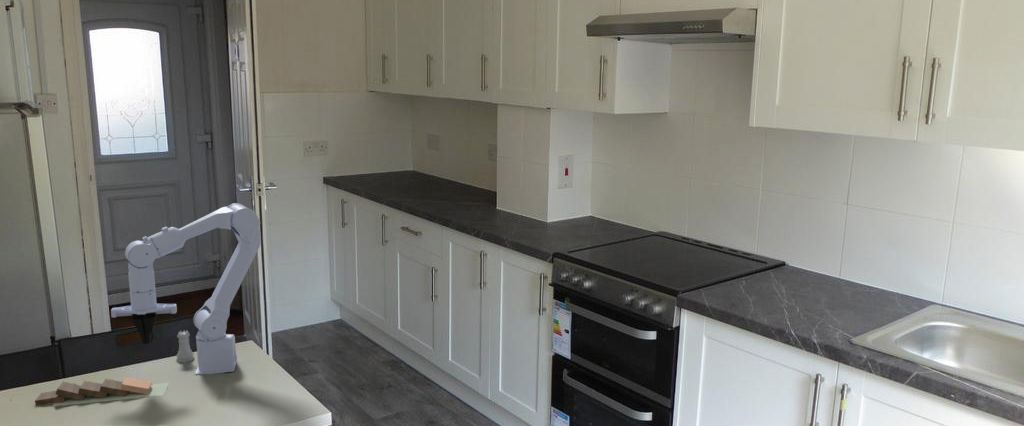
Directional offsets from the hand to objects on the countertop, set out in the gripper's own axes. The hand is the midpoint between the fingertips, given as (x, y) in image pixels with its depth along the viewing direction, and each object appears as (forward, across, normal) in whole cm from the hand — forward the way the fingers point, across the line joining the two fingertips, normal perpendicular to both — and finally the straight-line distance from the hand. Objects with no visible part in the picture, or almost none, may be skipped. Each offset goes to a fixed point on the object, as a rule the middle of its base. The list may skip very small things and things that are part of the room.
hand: (147, 342), depth 189 cm
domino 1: (+9, -17, -6) cm, 20 cm away
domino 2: (+10, -13, -6) cm, 17 cm away
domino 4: (+10, -3, -6) cm, 12 cm away
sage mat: (+10, -7, -6) cm, 14 cm away
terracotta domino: (+9, +1, -6) cm, 11 cm away
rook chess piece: (+10, +6, +13) cm, 18 cm away
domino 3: (+10, -8, -6) cm, 14 cm away
